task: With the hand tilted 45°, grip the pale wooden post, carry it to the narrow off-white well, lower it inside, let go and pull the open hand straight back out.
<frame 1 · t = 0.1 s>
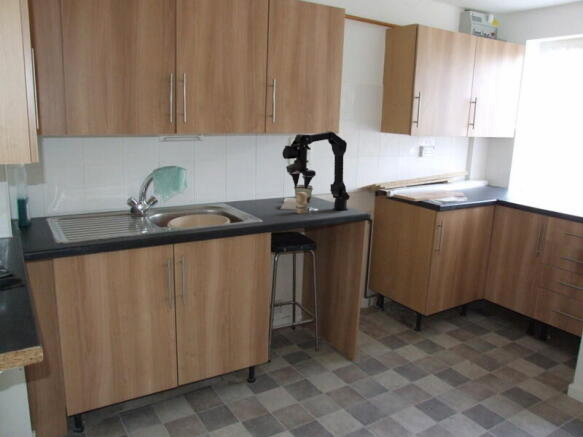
hand: (300, 187, 258), 15 cm above the worktop, tool pointing down, fingers open, 9 cm apart
wooden post: (300, 212, 267), on the worktop
well: (292, 207, 279), on the worktop
food container: (304, 201, 299), on the worktop
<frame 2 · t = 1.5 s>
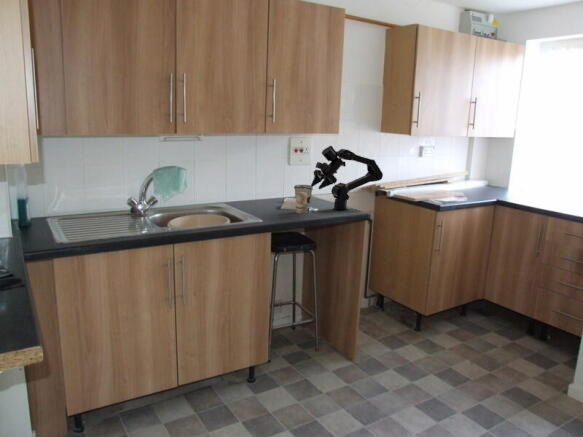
hand: (315, 187, 267), 14 cm above the worktop, tool tilted 45°, fingers open, 9 cm apart
nothing on the worktop moved.
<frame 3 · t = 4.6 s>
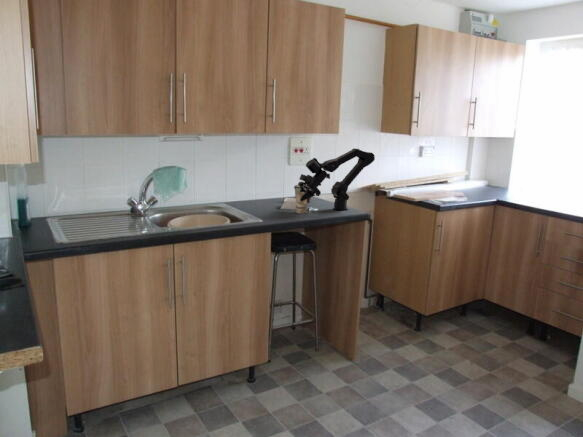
hand: (298, 199, 264), 7 cm above the worktop, tool tilted 45°, fingers closed on wooden post, 4 cm apart
wooden post: (300, 212, 267), on the worktop, touching gripper
everything else where it was.
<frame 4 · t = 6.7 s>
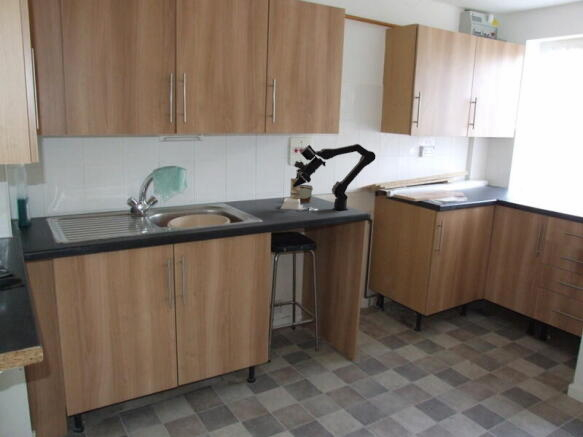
hand: (292, 185, 270), 14 cm above the worktop, tool tilted 45°, fingers closed on wooden post, 4 cm apart
wooden post: (294, 198, 271), point 7 cm above the worktop, touching gripper
everything else where it was.
when the fingers open (9 cm above the worktop, at t = 9.0 s): wooden post drops 1 cm, resting on well.
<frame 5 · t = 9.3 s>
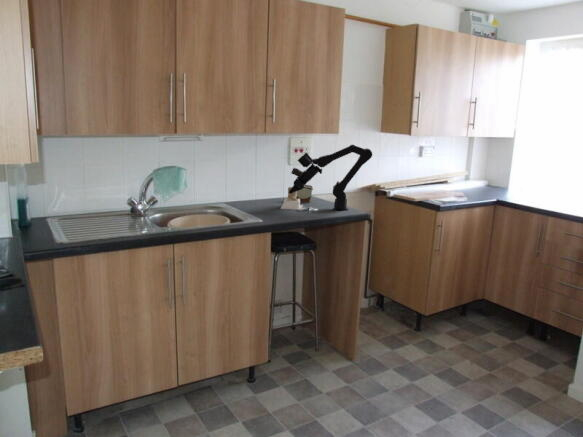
hand: (289, 191, 278), 9 cm above the worktop, tool tilted 45°, fingers open, 8 cm apart
wooden post: (292, 206, 279), resting on well
everything else where it was.
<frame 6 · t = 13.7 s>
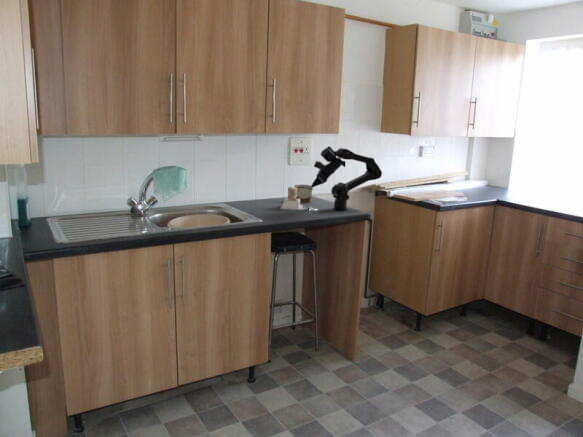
hand: (312, 185, 273), 14 cm above the worktop, tool tilted 45°, fingers open, 9 cm apart
nothing on the worktop moved.
at the end: wooden post 0.0 cm off-centre on the well, point 0.5 cm above the well's base; wooden post tilted 0°; the gripper is holding nothing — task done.
